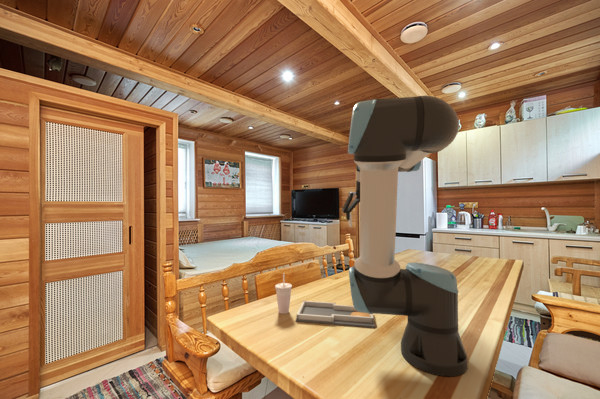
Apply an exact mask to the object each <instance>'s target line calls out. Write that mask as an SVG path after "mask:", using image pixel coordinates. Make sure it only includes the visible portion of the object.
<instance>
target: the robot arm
mask: <svg viewBox="0 0 600 399" xmlns="http://www.w3.org/2000/svg"><path fill="white" fill-rule="evenodd" d="M351 112H352V114H351V119H350V120H351V122H350V129H349V135H348V136H349V137H348V144H347V145H348V146H347V154H349V155H351V156H352V155H353V162H354V163H355V165H356V167H355V168H356V171H355V174H356V175H355V177H356V178H355V180H356V181H355V189H356V190H355V191H352V190H351V191H349V192H348V196H347V199H346V200H345V203H344V205H343V207H342V209H341V211H342V212H343V214H345V218H346V220H347V221H348V222H347V224H348V226H349V228H352V227H353V224H352V222H353V221H352V219H353V218H352V216H353V215H352V211H353V210H354V209H355V207H357V205H358V204H359V206H360V207H359V208H360V209H359V230H360V231H359V256H358V257H357V258H356V259H355V260H354V262H353V263H354V264H353V265H354V266H351V267H349V269H348V278H349V285H350V294H351V300H352V306H354V308H355V309H356V310H357V311H358V312H364V313H369V314H372V313H373V315H374V314H375V315H376V314H377V315H390V316H391V315H392V316H394V315H395V316H405V317H407V322H406V325H405V329H404V331H403V335H402V338H401V341H400V352H401V355H402V357H403V358H404V359H405V360H406V361H407V362H408V363H409V364H411V365H412V366H414V367H415V368H417V369H419V370H420V371H423V372H426V373H429V374H432V375H437V376H442V377H456V376H461V375H463V374H464V373H466V372H467V371H468V368H469V367H468V363H469V362H468V355H467V352H466V349H465V345H464V343H463V342H462V339H461V335H460V332H459V297H458V296H459V290H458V282H457V281H458V280H457V276H456V275H455V274H454V273H453V272H452V271H450V270H448V269H446V268H443V267H441V266H437V265H433V264H429V263H422V262H408V263H407V264H406V266H405V268H401V265H400V263H399V262H398V261H397V260H396V259H395V256H396V253H395V251H396V233H397V232H396V231H397V230H396V229H397V205H398V186H399V184H398V183H399V182H398V180H399V173H403V172H404V173H405V172H406V173H410V172H417V171H419V170H420V168H421V165H422V164H421V163H422V160H424V159H425V158H427V157H428V156H429V155H430V154H435V153H440V152H441V151H443V150H444V149H446V148H447V147H449V145H451V144H452V142H454V140H455V139H456V137H457V135H458V132H459V128H460V122H459V121H460V120H459V117H458V116H459V115H457V112H456V110H455V109H454V108H453V107H452V105H451V104H449V103H448V102H447V101H445V100H444V99H442V98H439V97H436V96H434V95H433V96H431V95H417V96H406V97H390V98H389V97H388V98H387V97H386V98H374V99H369V100H361V101H358V102H356V103H355V105H354V106H353V108H352V111H351ZM354 197H355V198H354ZM353 198H354V200H353Z"/></svg>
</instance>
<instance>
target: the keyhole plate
mask: <svg viewBox="0 0 600 399" xmlns="http://www.w3.org/2000/svg"><path fill="white" fill-rule="evenodd" d="M374 319H375V318H374V313H372V314H369V313H364V312H358V311H357V310H356V309H355V308H354V306H353V305H345V304H336V302H330V301H329V302H328V301H314V300H313V301H312V300H302V303H301V304H300V307H299V308H298V310H297V313H296V318H295V322H299V323H309V324H310V323H312V324H322V325H334V326H335V325H336V326H346V327H348V326H349V327H359V328H370V329H371V328H372V329H375V328H376V325H375V320H374Z"/></svg>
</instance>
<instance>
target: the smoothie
mask: <svg viewBox="0 0 600 399" xmlns="http://www.w3.org/2000/svg"><path fill="white" fill-rule="evenodd" d="M285 278H286V276H285V272H283V273H282V282H280V283H277V284H275V285H274V289H275V292H276V300H277V309H278V314H280V315H281V314H283V315H284V314H288V313H290V311H289V310H290V304H291V295H292V294H291V293H292V289H293V285H292V283H288V282H285V280H286V279H285Z"/></svg>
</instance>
